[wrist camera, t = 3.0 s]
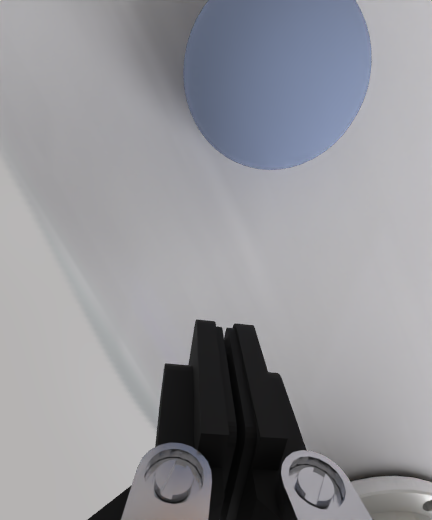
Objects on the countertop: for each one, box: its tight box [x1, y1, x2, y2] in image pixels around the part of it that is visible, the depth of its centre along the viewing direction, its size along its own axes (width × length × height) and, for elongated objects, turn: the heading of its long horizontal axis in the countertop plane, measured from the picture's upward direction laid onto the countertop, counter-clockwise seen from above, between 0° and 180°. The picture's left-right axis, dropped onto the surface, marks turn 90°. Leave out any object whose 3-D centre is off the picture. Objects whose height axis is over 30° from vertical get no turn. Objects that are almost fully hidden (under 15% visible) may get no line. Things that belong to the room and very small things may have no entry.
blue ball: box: [184, 0, 371, 170], centre depth 11 cm, size 6×6×6 cm
